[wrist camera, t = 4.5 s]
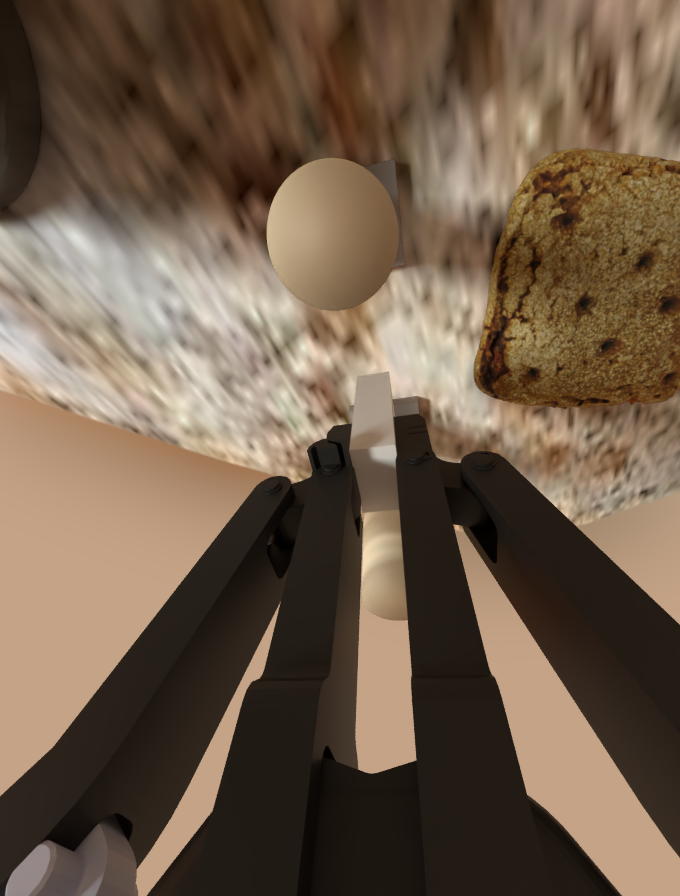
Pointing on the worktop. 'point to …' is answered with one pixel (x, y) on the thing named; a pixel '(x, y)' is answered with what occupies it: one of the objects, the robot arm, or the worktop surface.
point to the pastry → (586, 285)
